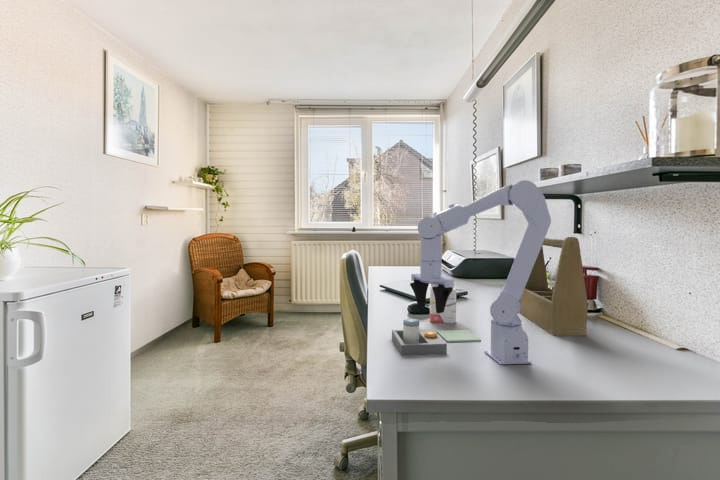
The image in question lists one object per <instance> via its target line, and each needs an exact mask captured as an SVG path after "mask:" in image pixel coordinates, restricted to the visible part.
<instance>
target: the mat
mask: <svg viewBox="0 0 720 480" xmlns="http://www.w3.org/2000/svg"><path fill="white" fill-rule="evenodd" d="M436 333H437V335H438V336H439V337H440V338H441V339H442V340H443V341H444V342H445V343H460V342H461V343H462V342H463V343H465V342H466V343H467V342H482V339H481V338H480V337H478V336H477V335H475V334H474V333H473V332H471V331H470V330H469V329H455V330H454V329H448V330H445V329H444V330H436Z"/></svg>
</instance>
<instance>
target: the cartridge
mask: <svg viewBox="0 0 720 480" xmlns="http://www.w3.org/2000/svg"><path fill="white" fill-rule="evenodd" d="M402 322H403V326H402V330H403V339H402V341H403V343H404V344H418V343H420V341H419V329H420V320H419V319H417V318H406V319H403V321H402Z"/></svg>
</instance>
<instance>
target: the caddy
mask: <svg viewBox="0 0 720 480" xmlns="http://www.w3.org/2000/svg"><path fill="white" fill-rule="evenodd" d="M543 246H546V247H552V248H558V249H561V251H560V255H559V261H558V265H557V269H556V275H555V281H554V285H553V288H551V287H549V283H548V275H547V268H546V261H545V255H544V247H543ZM583 267H584V266H583V260H582V254H581V247H580V241H579V239H578V237H575V236H567V237H565V238H564V239H559V238H557V239H553V238H547V237H545V239H544V242H543V244H542V246H541V249H540V251H539V254H538V256H537V259H536V261H535V264H534V266H533V269H532V271H531V274H530V276H529V279H528V281H527V283H526V286H525V288H524V292H523V295H522V297H521V310H520V312H519V313H518V314H520V315H521V316H524V318H526V319H527V320H529V321H530V322H532V323H533V324H535V325H536V326H538V327H540V328H541V329H542V330H544V331H545V332H547V333H548V334H550V335H551V336H567V337H568V336H570V337H571V336H572V337H574V336H575V337H577V336H578V337H579V336H583V337H584V336H587V333H588V332H587V329H588V327H587V326H588V325H587V324H588V310H589V305H588V296H587V289H586V281H585V274H584V268H583Z"/></svg>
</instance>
